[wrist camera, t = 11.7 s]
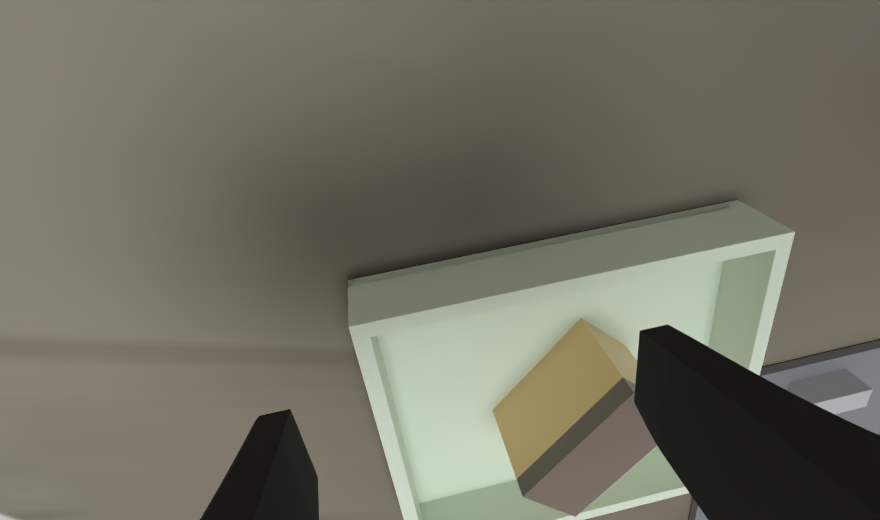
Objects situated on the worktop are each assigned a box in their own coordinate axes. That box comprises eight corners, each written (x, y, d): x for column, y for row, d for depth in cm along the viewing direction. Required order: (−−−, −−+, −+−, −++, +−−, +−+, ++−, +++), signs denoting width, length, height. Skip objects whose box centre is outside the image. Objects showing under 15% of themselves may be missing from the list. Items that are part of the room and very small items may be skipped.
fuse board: (911, 332, 26) (951, 357, 25) (812, 564, 37) (835, 592, 36) (715, 378, 26) (742, 407, 24) (673, 601, 37) (689, 632, 35)
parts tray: (737, 199, 20) (795, 231, 18) (696, 434, 27) (733, 481, 25) (347, 280, 19) (348, 326, 17) (408, 504, 26) (416, 561, 24)
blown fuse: (625, 345, 23) (684, 421, 19) (538, 431, 24) (575, 516, 21) (581, 318, 21) (634, 392, 18) (492, 410, 23) (522, 496, 19)
